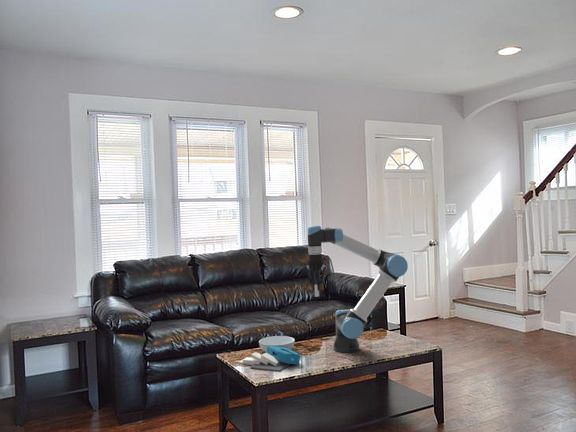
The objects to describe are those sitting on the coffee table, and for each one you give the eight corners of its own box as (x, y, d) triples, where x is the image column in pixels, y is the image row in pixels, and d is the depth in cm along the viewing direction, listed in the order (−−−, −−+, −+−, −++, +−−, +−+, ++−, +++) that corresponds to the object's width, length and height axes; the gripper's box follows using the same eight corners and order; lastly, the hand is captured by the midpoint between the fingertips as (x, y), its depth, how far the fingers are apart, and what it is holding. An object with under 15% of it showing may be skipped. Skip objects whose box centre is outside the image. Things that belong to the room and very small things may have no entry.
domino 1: (259, 361, 278) (243, 359, 282) (254, 363, 273) (238, 361, 278) (259, 364, 278) (243, 362, 282) (254, 366, 273) (238, 364, 278)
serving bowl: (274, 345, 313) (274, 334, 313) (302, 350, 300) (301, 338, 300) (251, 353, 296) (251, 341, 296) (279, 359, 283) (279, 346, 283)
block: (302, 364, 271) (284, 356, 289) (303, 355, 271) (286, 347, 289) (282, 362, 265) (265, 354, 283) (283, 353, 266) (267, 345, 284)
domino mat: (292, 362, 276) (292, 361, 276) (279, 371, 261) (279, 370, 261) (263, 359, 283) (263, 358, 283) (250, 368, 268) (250, 366, 268)
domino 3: (271, 359, 275) (255, 351, 279) (267, 362, 270) (251, 354, 274) (270, 362, 275) (254, 354, 279) (266, 364, 271) (250, 357, 274)
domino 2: (263, 358, 277) (246, 357, 281) (259, 361, 272) (242, 359, 276) (263, 361, 277) (247, 360, 281) (259, 364, 272) (242, 362, 276)
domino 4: (281, 360, 273) (265, 352, 277) (276, 363, 268) (261, 355, 273) (280, 363, 273) (265, 355, 277) (275, 366, 268) (260, 357, 273)
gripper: (301, 254, 282) (303, 297, 283) (324, 254, 278) (326, 297, 278) (306, 253, 289) (308, 294, 290) (328, 253, 285) (330, 295, 285)
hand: (317, 296), depth 284 cm, fingers closed
